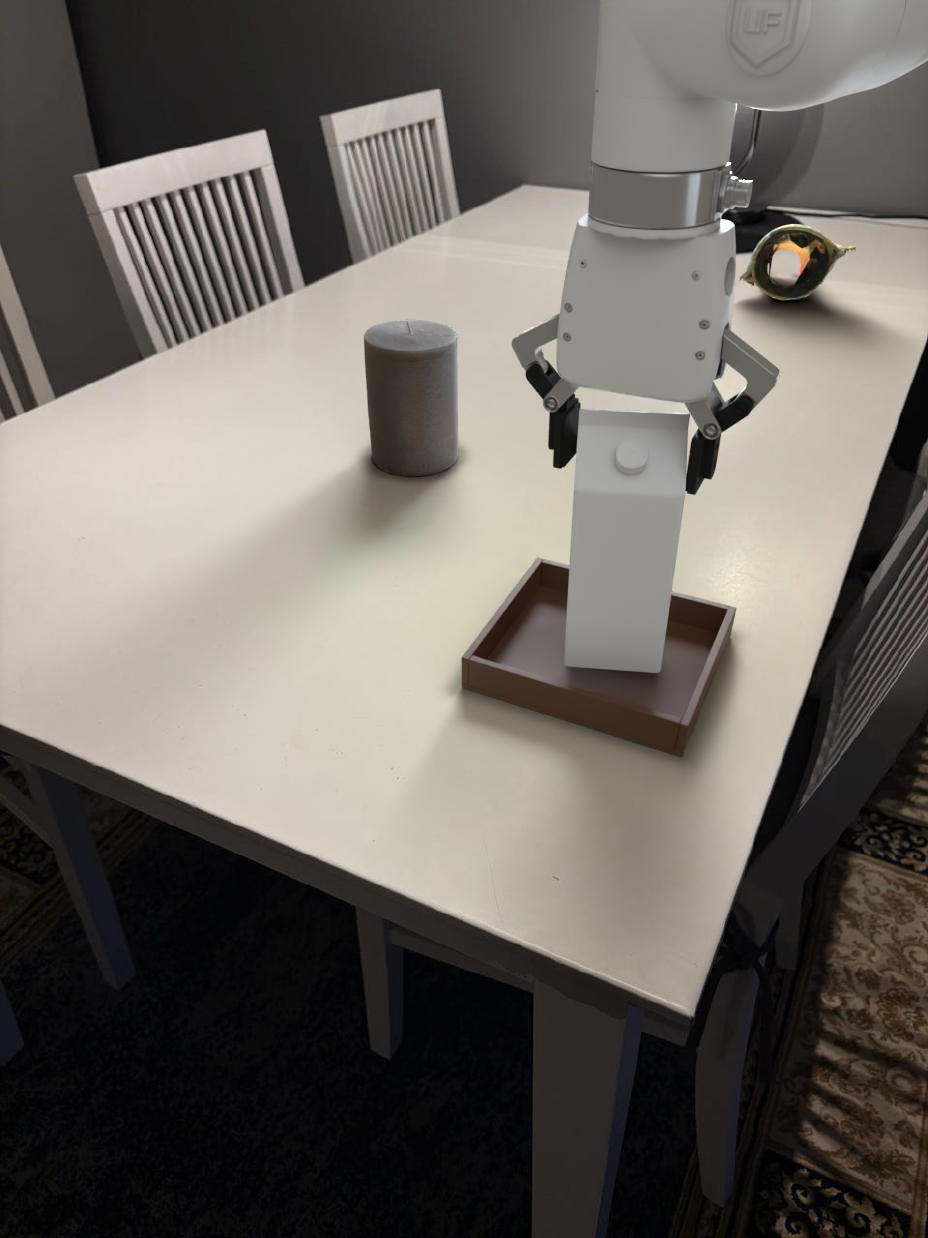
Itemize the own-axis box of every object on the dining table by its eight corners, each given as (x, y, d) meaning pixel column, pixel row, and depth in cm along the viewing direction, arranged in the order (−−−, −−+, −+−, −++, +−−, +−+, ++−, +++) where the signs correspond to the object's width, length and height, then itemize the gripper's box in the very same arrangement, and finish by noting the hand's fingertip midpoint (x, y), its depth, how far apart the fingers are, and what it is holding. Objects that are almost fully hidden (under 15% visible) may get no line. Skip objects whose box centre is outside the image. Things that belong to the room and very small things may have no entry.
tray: (730, 636, 75) (736, 607, 73) (682, 757, 64) (688, 726, 62) (535, 585, 81) (537, 556, 79) (461, 687, 70) (461, 657, 68)
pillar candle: (374, 480, 96) (365, 341, 87) (368, 440, 104) (359, 307, 95) (465, 473, 97) (465, 335, 88) (452, 434, 105) (451, 303, 96)
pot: (838, 216, 149) (853, 202, 132) (848, 287, 152) (863, 282, 135) (730, 246, 154) (731, 237, 138) (741, 314, 157) (744, 313, 140)
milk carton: (568, 612, 74) (581, 388, 62) (657, 618, 73) (687, 392, 61) (563, 668, 68) (577, 432, 57) (660, 675, 67) (693, 437, 56)
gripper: (825, 194, 51) (769, 473, 61) (537, 174, 57) (530, 429, 68) (803, 225, 46) (746, 524, 56) (488, 198, 52) (489, 472, 62)
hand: (628, 471), depth 62 cm, fingers closed on milk carton, 8 cm apart
